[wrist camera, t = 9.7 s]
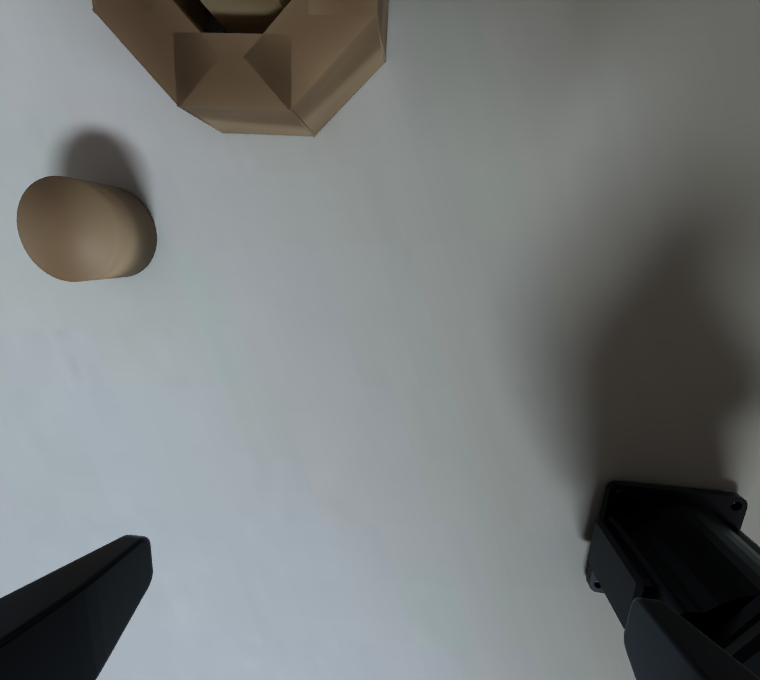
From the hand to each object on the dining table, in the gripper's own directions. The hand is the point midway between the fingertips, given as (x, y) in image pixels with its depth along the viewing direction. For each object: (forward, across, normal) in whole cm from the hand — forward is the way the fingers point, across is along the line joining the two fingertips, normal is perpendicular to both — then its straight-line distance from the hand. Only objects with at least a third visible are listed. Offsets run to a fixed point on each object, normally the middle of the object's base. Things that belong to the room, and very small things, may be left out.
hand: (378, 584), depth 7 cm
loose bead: (+13, +15, -6) cm, 21 cm away
